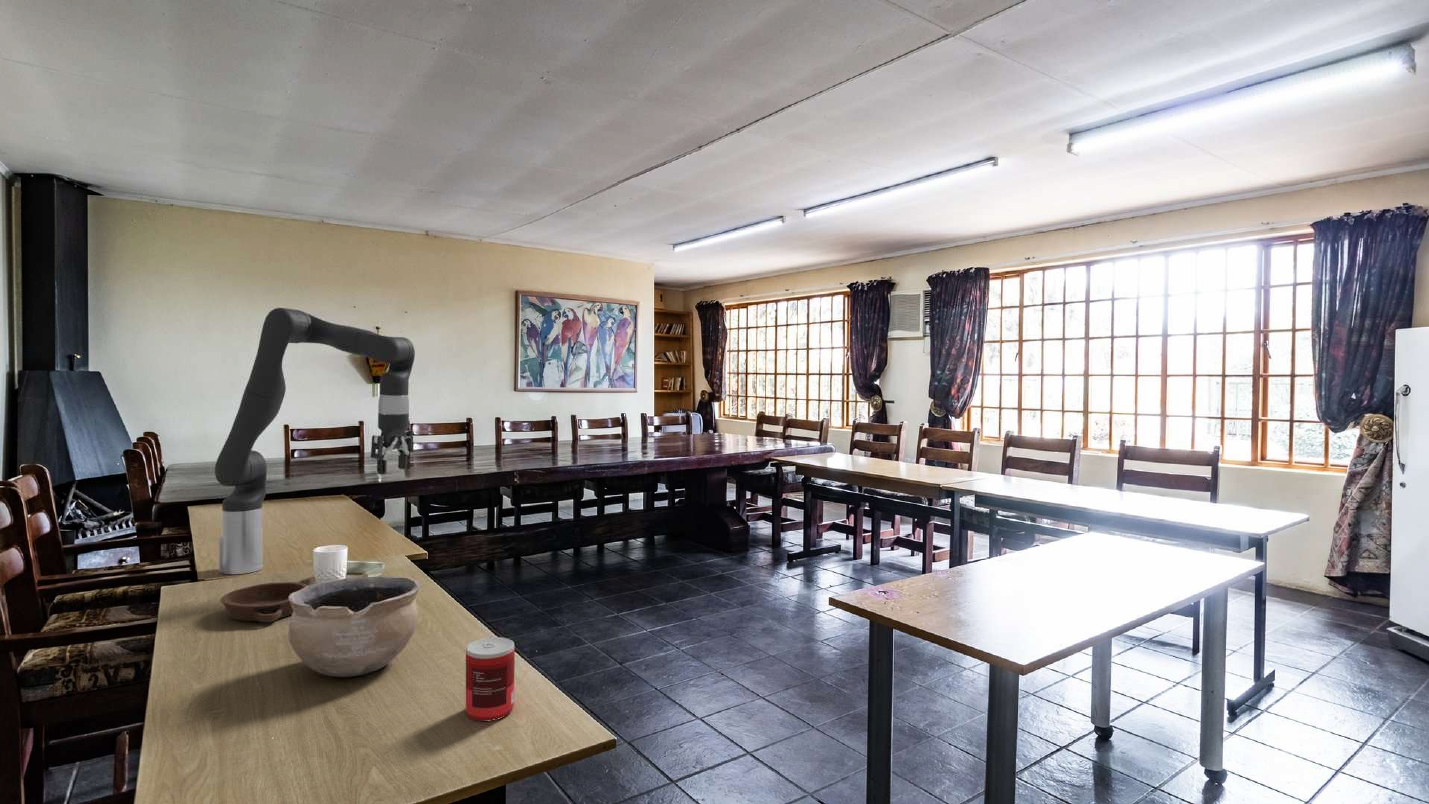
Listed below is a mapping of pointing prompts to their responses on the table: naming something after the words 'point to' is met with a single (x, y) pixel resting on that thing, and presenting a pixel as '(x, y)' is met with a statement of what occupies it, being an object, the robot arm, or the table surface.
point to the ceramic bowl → (353, 623)
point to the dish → (261, 601)
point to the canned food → (490, 678)
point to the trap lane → (355, 570)
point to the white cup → (330, 563)
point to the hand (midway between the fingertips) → (392, 471)
